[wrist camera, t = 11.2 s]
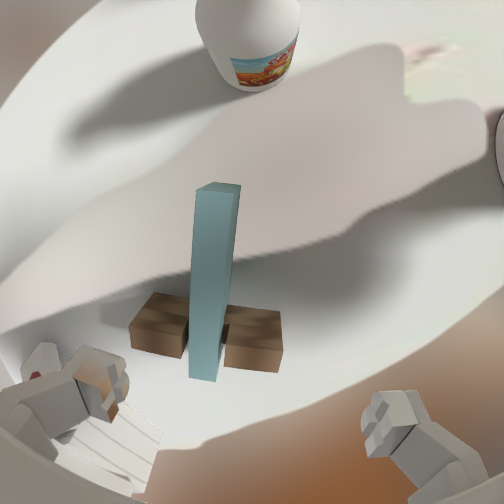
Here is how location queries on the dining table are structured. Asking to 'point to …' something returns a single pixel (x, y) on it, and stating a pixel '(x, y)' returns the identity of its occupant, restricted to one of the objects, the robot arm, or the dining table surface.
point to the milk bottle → (249, 39)
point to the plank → (211, 275)
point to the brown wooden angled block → (234, 334)
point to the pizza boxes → (101, 438)
